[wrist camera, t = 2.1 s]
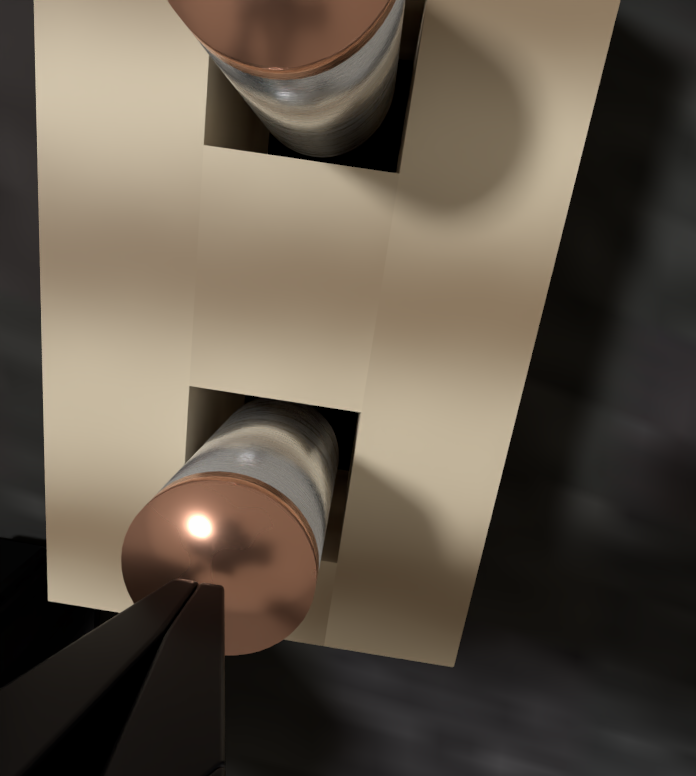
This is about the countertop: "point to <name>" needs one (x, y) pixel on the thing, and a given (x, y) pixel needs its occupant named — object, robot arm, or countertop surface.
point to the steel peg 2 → (244, 521)
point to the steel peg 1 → (305, 64)
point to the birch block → (302, 290)
